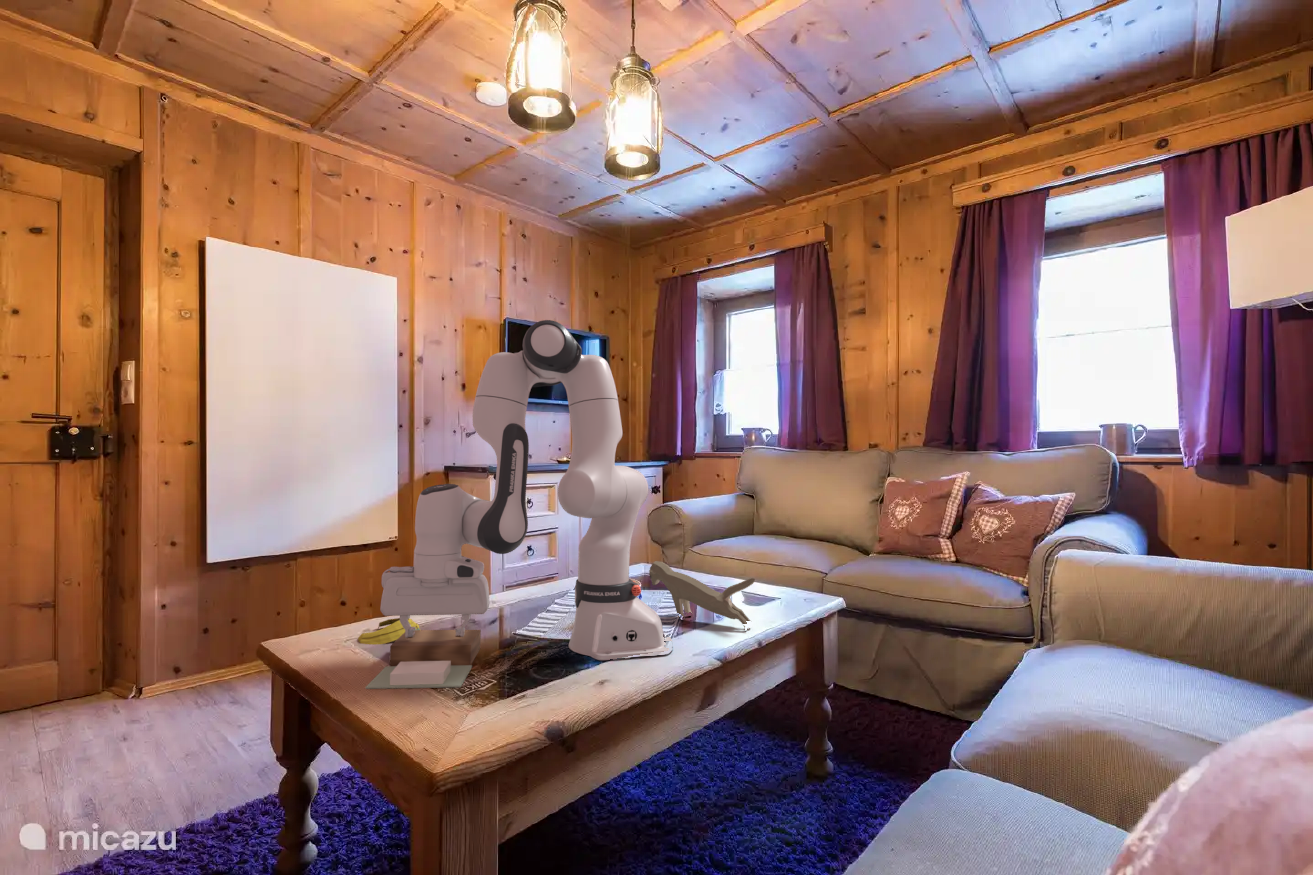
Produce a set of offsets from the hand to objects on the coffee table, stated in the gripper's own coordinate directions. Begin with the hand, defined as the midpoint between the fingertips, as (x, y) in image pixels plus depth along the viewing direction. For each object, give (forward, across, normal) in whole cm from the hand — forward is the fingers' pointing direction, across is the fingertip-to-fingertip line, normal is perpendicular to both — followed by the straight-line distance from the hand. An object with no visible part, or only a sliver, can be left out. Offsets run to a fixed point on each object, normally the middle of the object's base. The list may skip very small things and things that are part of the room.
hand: (435, 636), depth 117 cm
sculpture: (+5, +59, +24) cm, 64 cm away
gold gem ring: (+5, -12, +17) cm, 22 cm away
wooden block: (+5, 0, +2) cm, 5 cm away
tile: (+2, 0, -10) cm, 10 cm away
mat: (+5, 0, -9) cm, 10 cm away
